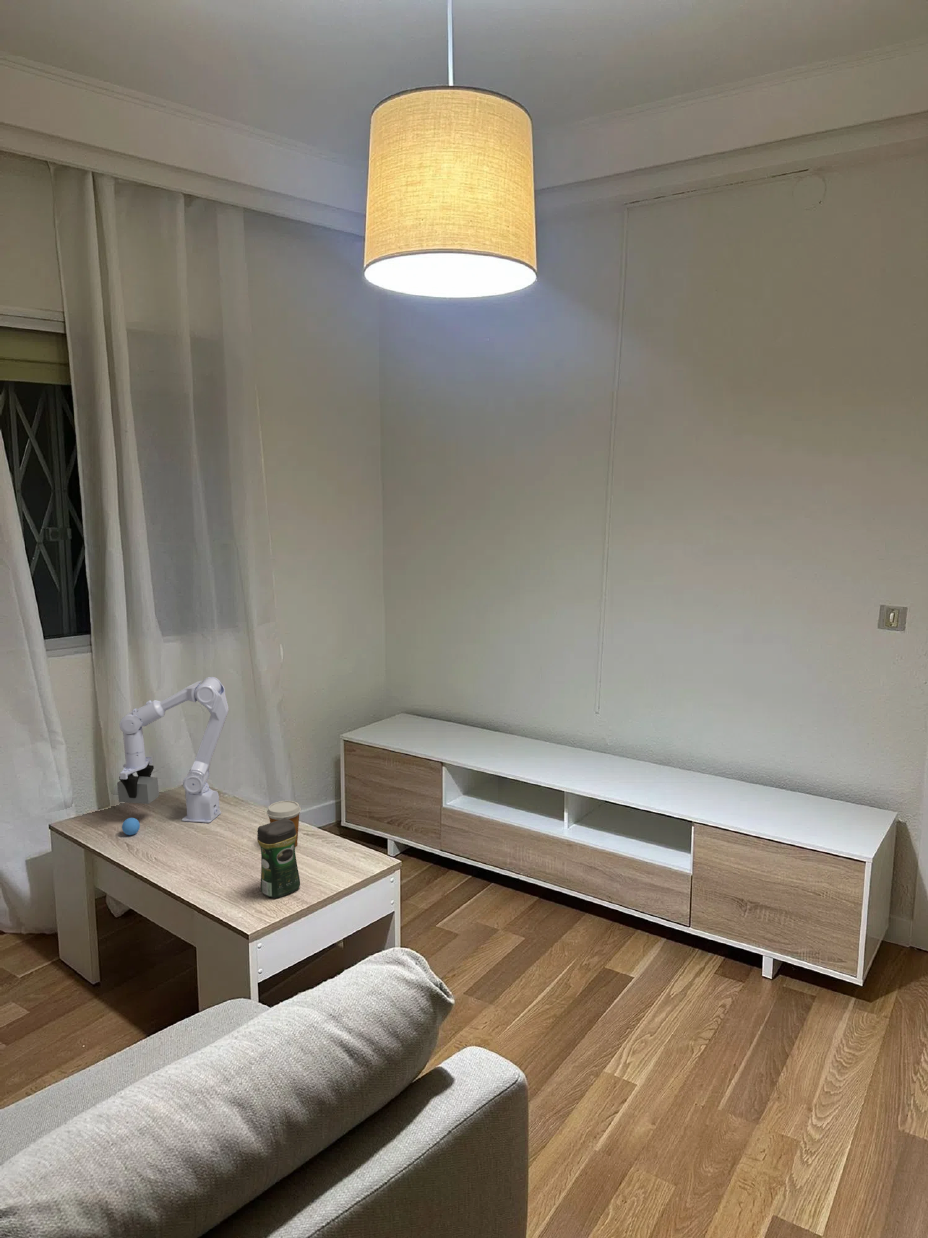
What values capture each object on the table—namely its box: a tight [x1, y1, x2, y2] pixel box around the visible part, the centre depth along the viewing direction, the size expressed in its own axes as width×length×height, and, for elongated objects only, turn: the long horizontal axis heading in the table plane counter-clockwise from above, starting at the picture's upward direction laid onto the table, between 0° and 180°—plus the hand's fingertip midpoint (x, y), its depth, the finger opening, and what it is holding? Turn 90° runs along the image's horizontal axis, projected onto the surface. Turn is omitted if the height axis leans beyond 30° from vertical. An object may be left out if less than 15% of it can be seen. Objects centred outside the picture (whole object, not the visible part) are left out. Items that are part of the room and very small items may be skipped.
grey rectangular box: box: [116, 775, 160, 805], centre depth 274 cm, size 10×6×6 cm, turn 78°
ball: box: [121, 817, 141, 836], centre depth 265 cm, size 5×5×5 cm
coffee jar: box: [256, 818, 301, 899], centre depth 228 cm, size 10×8×19 cm
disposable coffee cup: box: [266, 800, 302, 848], centre depth 254 cm, size 10×10×12 cm
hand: (138, 793), depth 274 cm, fingers closed on grey rectangular box, 6 cm apart
